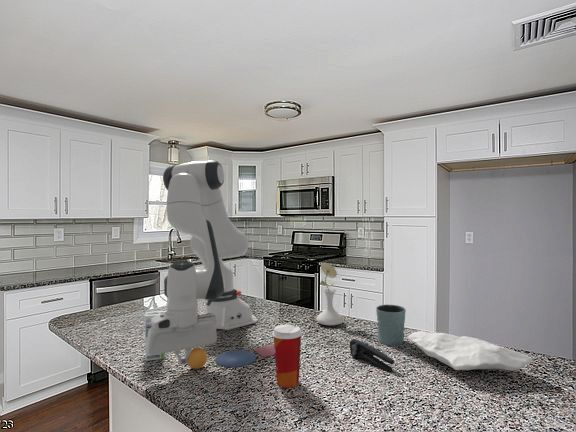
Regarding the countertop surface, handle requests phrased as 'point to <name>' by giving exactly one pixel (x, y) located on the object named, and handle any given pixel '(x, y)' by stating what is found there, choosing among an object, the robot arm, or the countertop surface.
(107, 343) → the countertop surface
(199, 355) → the ball
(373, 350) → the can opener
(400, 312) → the teal cup
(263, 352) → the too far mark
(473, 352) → the crumpled cloth
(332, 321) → the flower in vase
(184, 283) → the robot arm
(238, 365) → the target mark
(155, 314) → the syrup box
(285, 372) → the coffee cup
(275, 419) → the countertop surface
